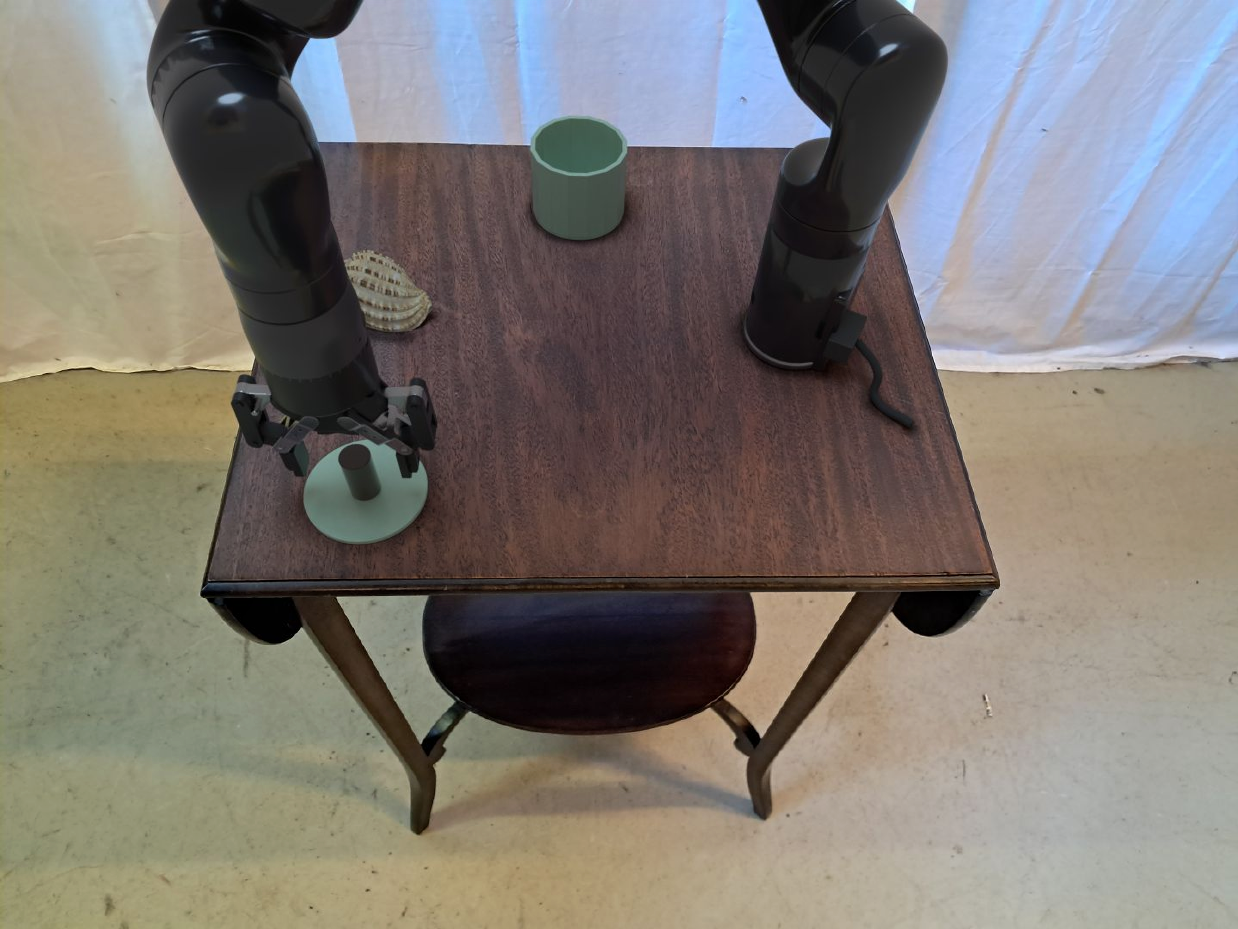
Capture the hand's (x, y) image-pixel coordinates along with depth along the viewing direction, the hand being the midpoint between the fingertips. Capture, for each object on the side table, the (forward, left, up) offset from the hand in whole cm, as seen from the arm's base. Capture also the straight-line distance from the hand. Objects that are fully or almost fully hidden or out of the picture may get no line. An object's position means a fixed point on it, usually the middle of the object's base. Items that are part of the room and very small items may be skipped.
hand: (356, 468), depth 73 cm
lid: (0, 0, -4) cm, 4 cm away
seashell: (+12, -19, -4) cm, 23 cm away
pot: (+2, -42, -4) cm, 42 cm away
